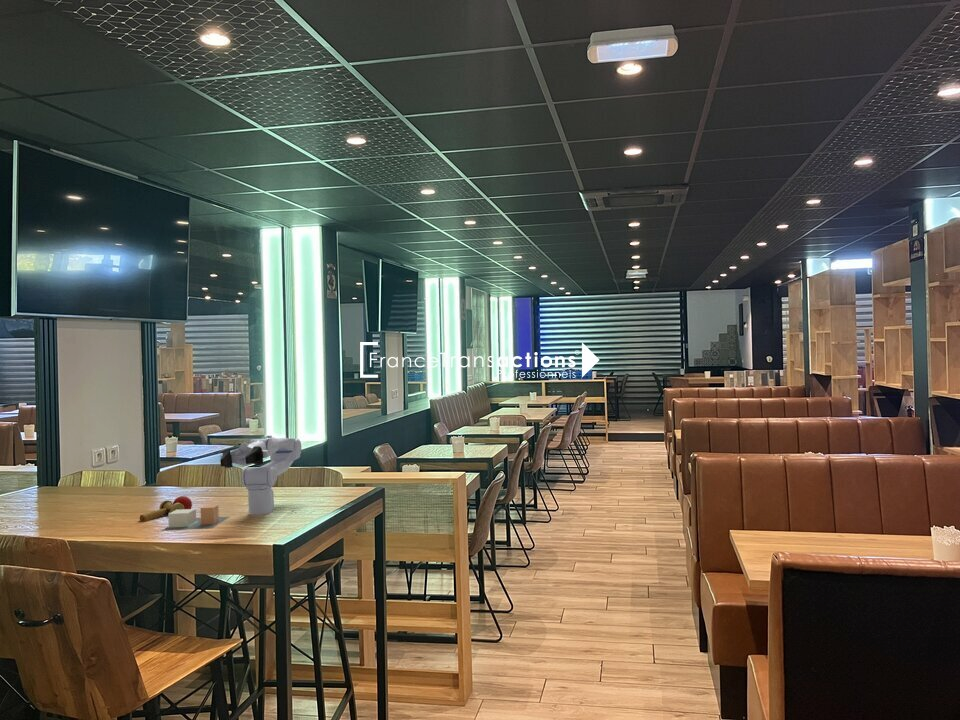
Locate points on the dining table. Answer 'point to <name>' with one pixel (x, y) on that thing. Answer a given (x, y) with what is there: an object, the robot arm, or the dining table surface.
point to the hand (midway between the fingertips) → (234, 461)
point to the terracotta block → (209, 514)
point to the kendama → (168, 508)
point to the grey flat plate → (197, 525)
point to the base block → (182, 517)
